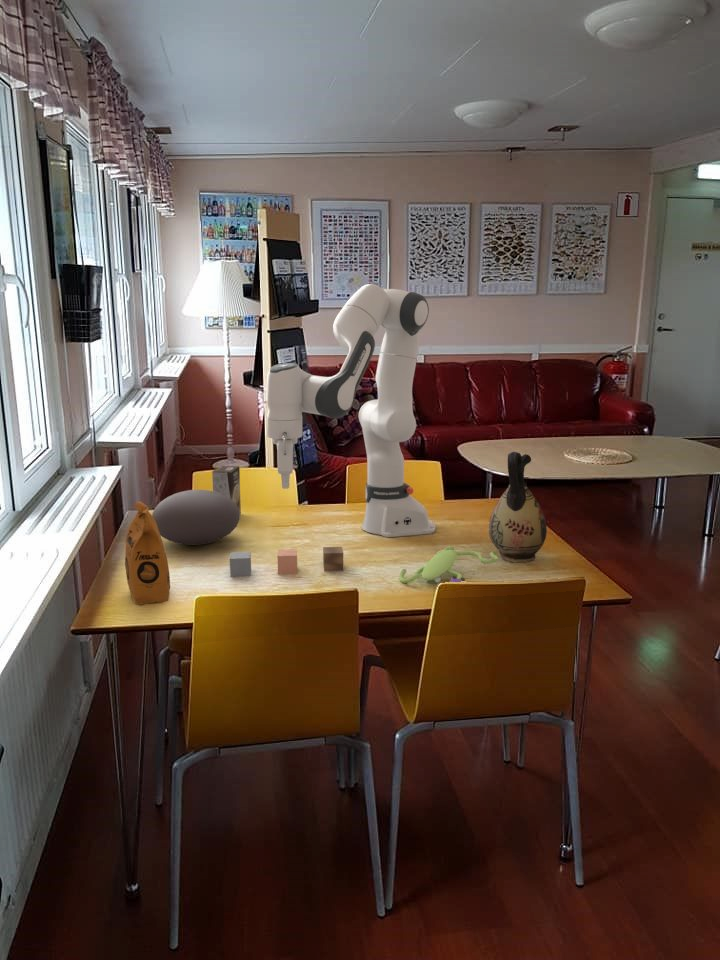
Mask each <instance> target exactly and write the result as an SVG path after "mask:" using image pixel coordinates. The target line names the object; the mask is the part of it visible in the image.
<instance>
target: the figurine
mask: <svg viewBox="0 0 720 960" xmlns="http://www.w3.org/2000/svg"><path fill="white" fill-rule="evenodd" d="M489 555H490V558H492V559H486V558H484V557H483V555H482V553H481V552H480V551H475V550H456V551H455V547H454V546H453V545H448V546H447V547H445V548H444V549H441V550H439V551H437V552H435V555H434V556H433V557H431V559H429V560H428V562H426V564H425V565H424V566H421V567H420V568H418V569H417V570H416V571H415V572H413V575H412V576H409V577H407V578H404V577H405V574H406V573H407V569H406V568H403V569H402V570H401V572H400V573H399V576H398V579H399V580H398V581H399V582H400V583H402V584H408V583H411V582H413V581H415V580H417V579H418V578H419V577H420V574H421V577H422V579H423V580H425V581H426V582H429V581H431V580H432V581H433V580H434V582H435V583H438V584H440V582H441V576H444V575H445V574H446V573H447V574H448V575H452V577H451V579H450V580H449V582H461V581H466V579H465V578H464V577H463V576H462V574H461V573H459V572H458V571H454V570H452V569H451V568H452V567H453V566H454V564H455V562H456V560H457V558H458V556H474V557H477V558H478V560H479V561H480V562H481V564H492V563H496V562H497V561H498V560H499V557H498V555H496V554H495V552H494V551H491V552H490V553H489Z"/></svg>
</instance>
